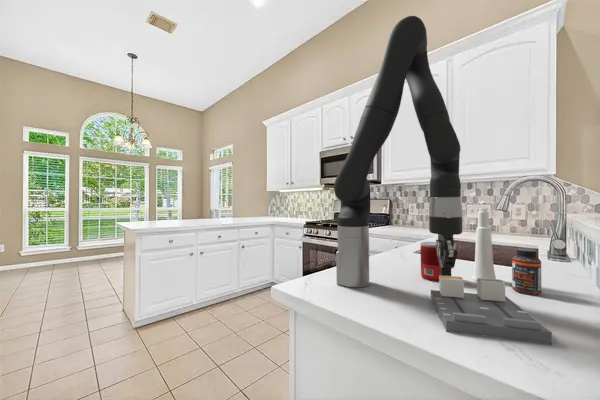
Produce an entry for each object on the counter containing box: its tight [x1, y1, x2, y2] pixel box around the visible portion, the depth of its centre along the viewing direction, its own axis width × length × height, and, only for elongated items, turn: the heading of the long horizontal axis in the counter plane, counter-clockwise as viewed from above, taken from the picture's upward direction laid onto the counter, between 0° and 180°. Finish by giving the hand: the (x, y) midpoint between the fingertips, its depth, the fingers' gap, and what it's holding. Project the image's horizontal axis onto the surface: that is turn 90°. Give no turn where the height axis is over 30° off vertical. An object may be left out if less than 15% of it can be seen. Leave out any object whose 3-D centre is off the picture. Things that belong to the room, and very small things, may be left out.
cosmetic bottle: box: [471, 207, 497, 282], centre depth 82 cm, size 6×6×22 cm
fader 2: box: [476, 278, 506, 302], centre depth 61 cm, size 5×3×4 cm, turn 72°
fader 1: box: [438, 275, 465, 298], centre depth 63 cm, size 5×3×4 cm, turn 72°
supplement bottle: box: [511, 247, 542, 296], centre depth 71 cm, size 6×6×11 cm
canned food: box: [420, 241, 441, 283], centre depth 84 cm, size 8×8×11 cm
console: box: [430, 289, 553, 345], centre depth 56 cm, size 16×18×3 cm
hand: (446, 282), depth 69 cm, fingers closed
